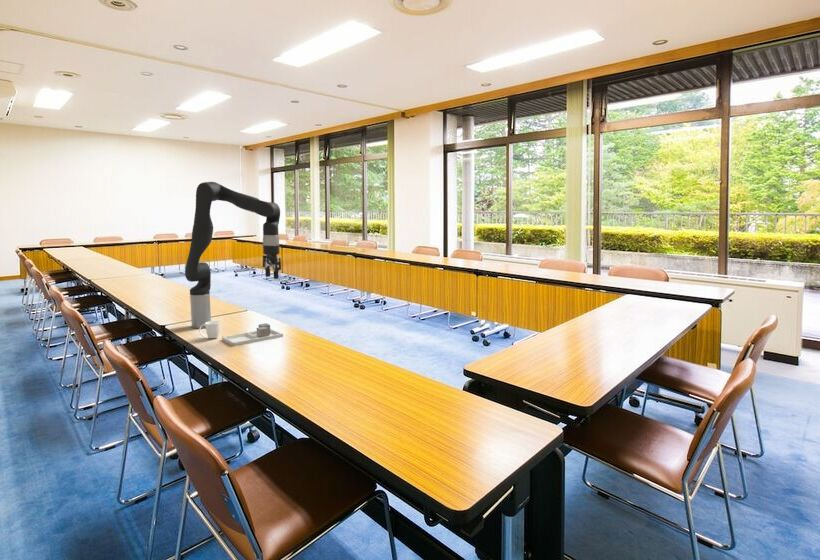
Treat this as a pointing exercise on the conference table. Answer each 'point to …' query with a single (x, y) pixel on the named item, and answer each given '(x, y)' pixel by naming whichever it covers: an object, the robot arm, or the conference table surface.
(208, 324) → the cup
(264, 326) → the matte grey cube
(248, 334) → the divided tray
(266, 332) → the stone
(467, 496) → the conference table surface
